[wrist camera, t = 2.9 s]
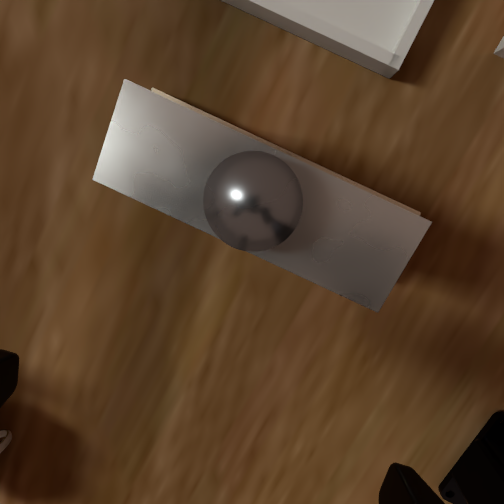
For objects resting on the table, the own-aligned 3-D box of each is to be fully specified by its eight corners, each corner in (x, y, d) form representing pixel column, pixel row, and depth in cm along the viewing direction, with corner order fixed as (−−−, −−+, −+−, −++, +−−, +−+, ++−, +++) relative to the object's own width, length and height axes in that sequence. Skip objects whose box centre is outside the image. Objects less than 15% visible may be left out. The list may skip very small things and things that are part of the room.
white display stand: (410, 209, 18) (523, 245, 9) (371, 277, 19) (440, 367, 10) (163, 94, 18) (43, 22, 9) (137, 168, 19) (7, 165, 10)
